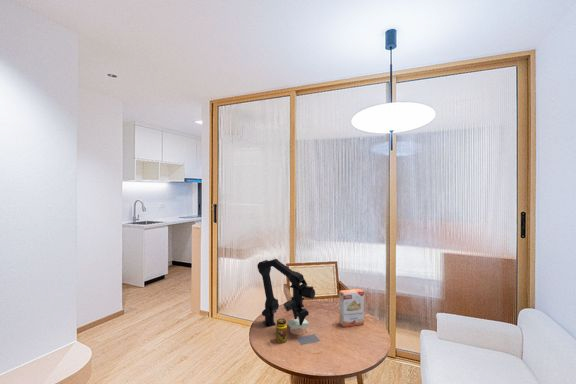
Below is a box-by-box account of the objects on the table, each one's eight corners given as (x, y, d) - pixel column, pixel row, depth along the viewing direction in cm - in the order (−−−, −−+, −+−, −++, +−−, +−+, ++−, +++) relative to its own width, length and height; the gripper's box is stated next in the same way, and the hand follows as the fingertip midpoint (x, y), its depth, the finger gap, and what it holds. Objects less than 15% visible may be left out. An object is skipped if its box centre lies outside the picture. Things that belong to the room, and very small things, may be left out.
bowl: (288, 330, 171) (288, 323, 171) (302, 327, 174) (302, 320, 174) (293, 337, 162) (293, 329, 162) (308, 334, 165) (308, 327, 165)
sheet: (287, 323, 170) (287, 320, 170) (304, 321, 173) (304, 317, 173) (291, 329, 163) (291, 325, 163) (308, 326, 166) (308, 322, 166)
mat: (295, 339, 160) (295, 337, 160) (314, 335, 164) (314, 334, 164) (301, 346, 152) (301, 345, 152) (320, 342, 156) (320, 340, 156)
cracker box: (343, 328, 172) (343, 293, 172) (339, 323, 178) (339, 290, 178) (364, 324, 176) (364, 291, 176) (359, 320, 182) (359, 287, 182)
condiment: (283, 346, 153) (283, 324, 153) (270, 342, 157) (270, 320, 157) (290, 340, 159) (290, 318, 159) (277, 336, 163) (277, 315, 163)
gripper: (279, 292, 174) (280, 317, 174) (290, 303, 156) (290, 331, 156) (296, 290, 178) (297, 315, 178) (308, 300, 160) (309, 328, 160)
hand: (298, 322), depth 168 cm, fingers open, 8 cm apart
